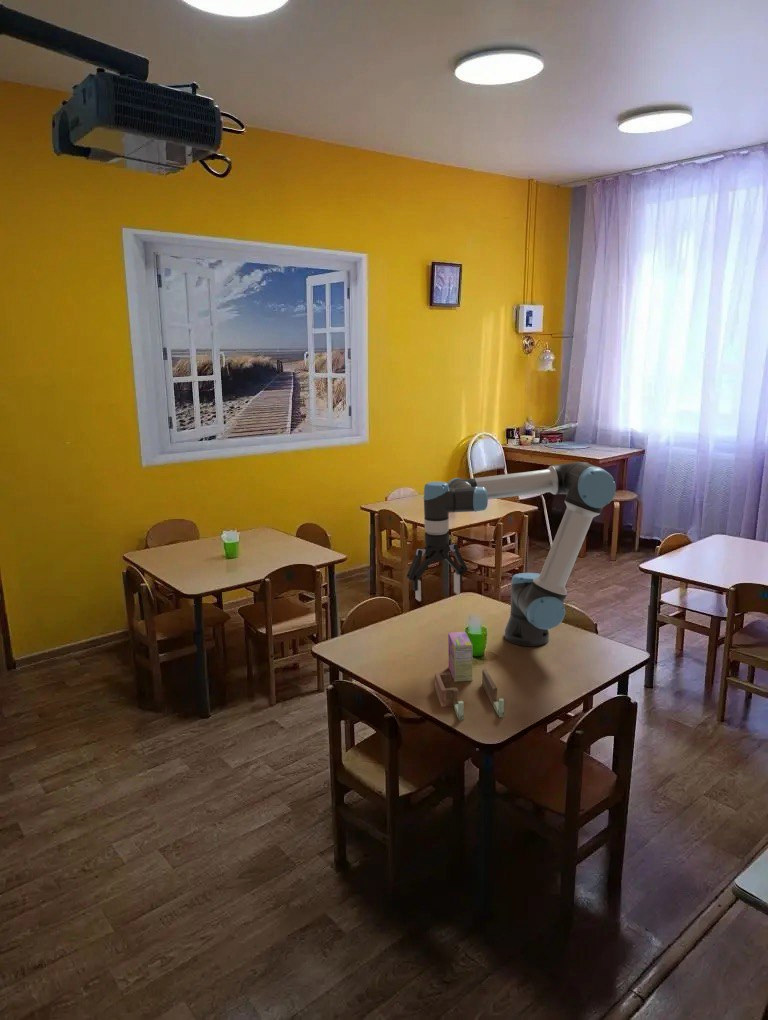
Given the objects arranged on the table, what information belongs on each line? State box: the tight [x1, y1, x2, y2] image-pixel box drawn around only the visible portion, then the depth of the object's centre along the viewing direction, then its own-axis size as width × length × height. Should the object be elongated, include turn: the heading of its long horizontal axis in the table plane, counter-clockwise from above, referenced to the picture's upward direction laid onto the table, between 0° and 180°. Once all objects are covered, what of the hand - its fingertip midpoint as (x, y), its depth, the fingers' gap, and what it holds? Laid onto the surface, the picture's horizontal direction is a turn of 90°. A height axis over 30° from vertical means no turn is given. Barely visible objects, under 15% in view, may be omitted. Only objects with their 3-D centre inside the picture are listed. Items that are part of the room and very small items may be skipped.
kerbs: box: [453, 698, 505, 721], centre depth 189 cm, size 12×6×5 cm, turn 96°
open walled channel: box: [434, 669, 498, 708], centre depth 199 cm, size 16×12×5 cm
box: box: [447, 631, 474, 683], centre depth 212 cm, size 10×6×12 cm, turn 5°
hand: (437, 596), depth 218 cm, fingers open, 13 cm apart
